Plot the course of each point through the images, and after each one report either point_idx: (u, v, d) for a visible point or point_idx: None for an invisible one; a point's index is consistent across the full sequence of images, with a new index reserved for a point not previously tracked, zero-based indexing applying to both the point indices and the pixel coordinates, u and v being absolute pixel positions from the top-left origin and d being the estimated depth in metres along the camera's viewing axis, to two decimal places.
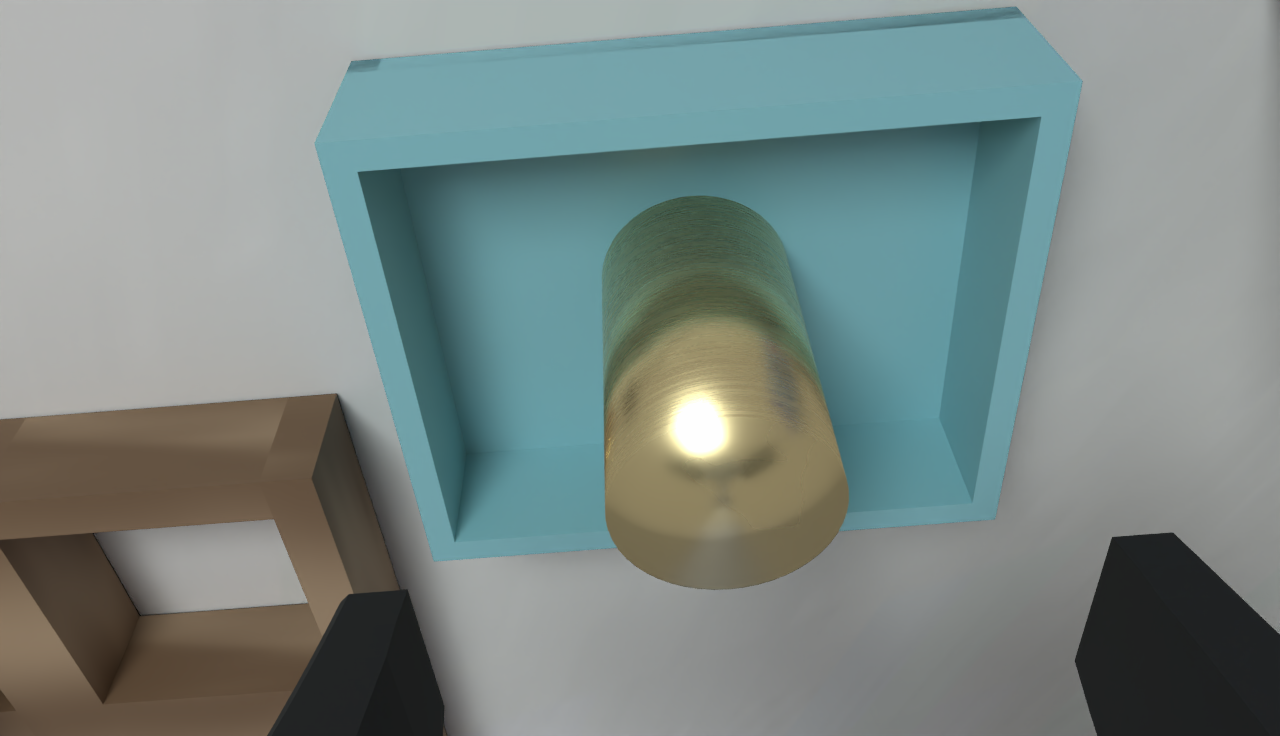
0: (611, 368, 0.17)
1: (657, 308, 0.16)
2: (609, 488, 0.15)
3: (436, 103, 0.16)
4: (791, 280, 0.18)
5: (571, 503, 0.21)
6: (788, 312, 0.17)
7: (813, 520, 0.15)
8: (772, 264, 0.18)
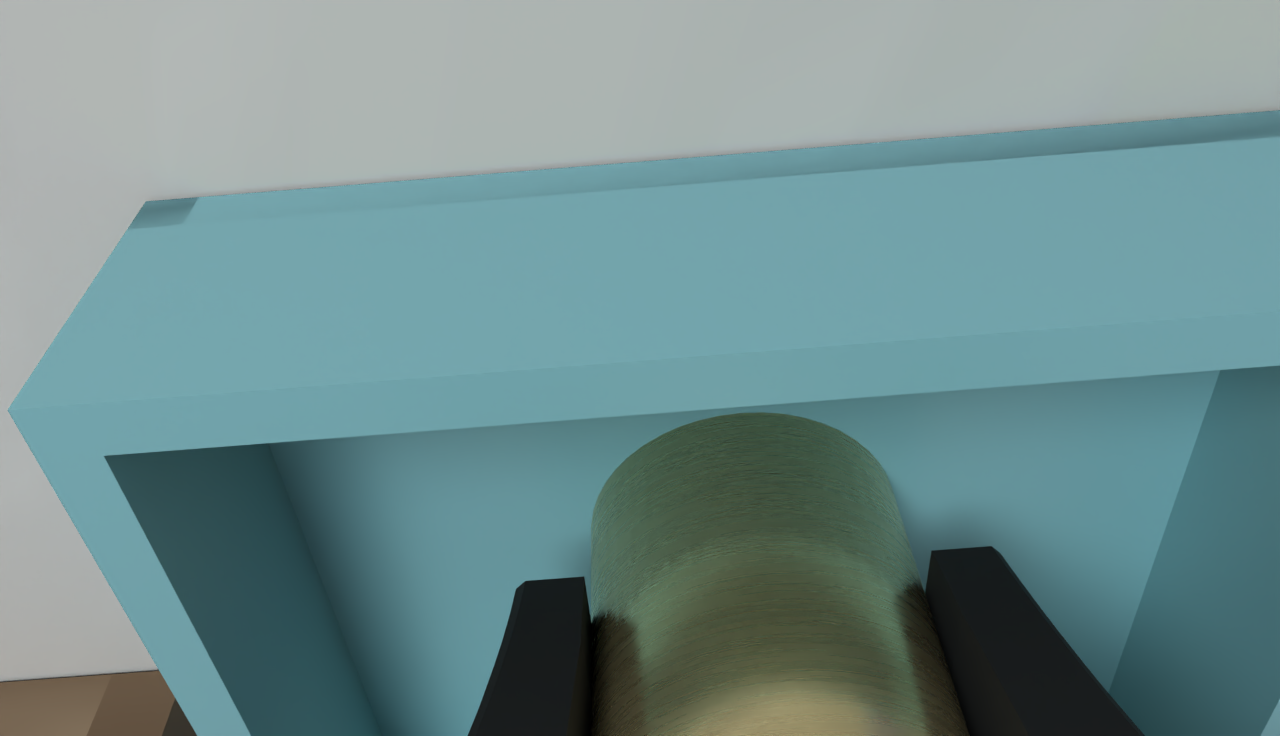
0: None
1: (690, 680, 0.09)
2: None
3: (270, 308, 0.08)
4: (914, 565, 0.11)
5: None
6: (929, 669, 0.09)
7: None
8: (888, 552, 0.10)
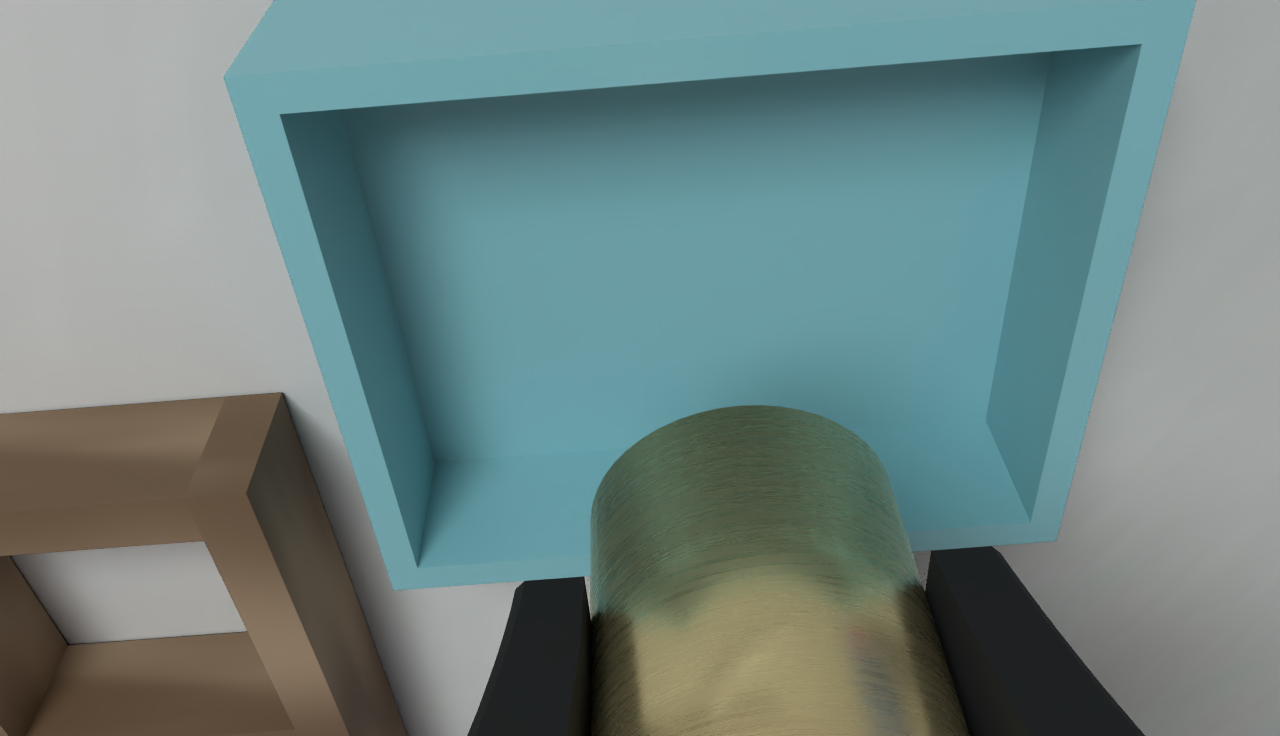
0: None
1: (689, 669, 0.09)
2: None
3: (381, 30, 0.13)
4: (912, 557, 0.11)
5: (556, 521, 0.18)
6: (926, 659, 0.09)
7: None
8: (886, 543, 0.10)
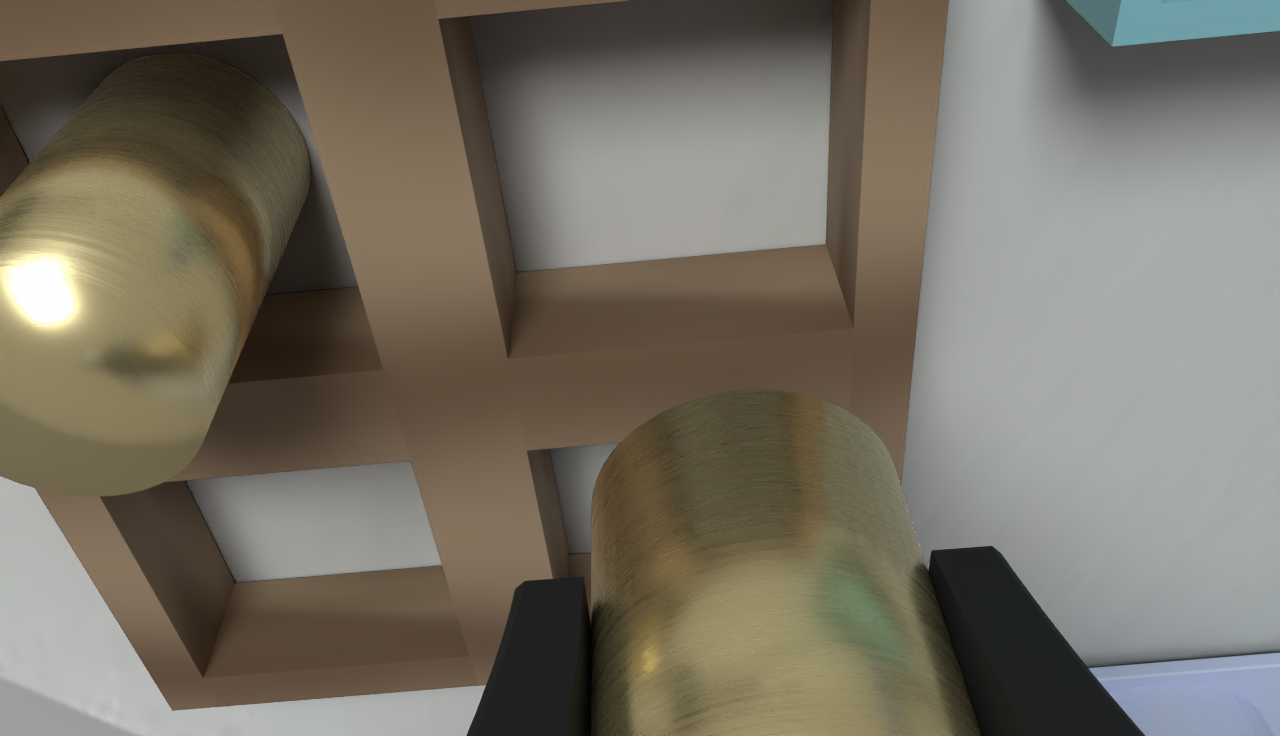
0: None
1: (710, 648, 0.09)
2: None
3: None
4: (922, 553, 0.11)
5: None
6: (943, 653, 0.09)
7: None
8: (903, 536, 0.10)
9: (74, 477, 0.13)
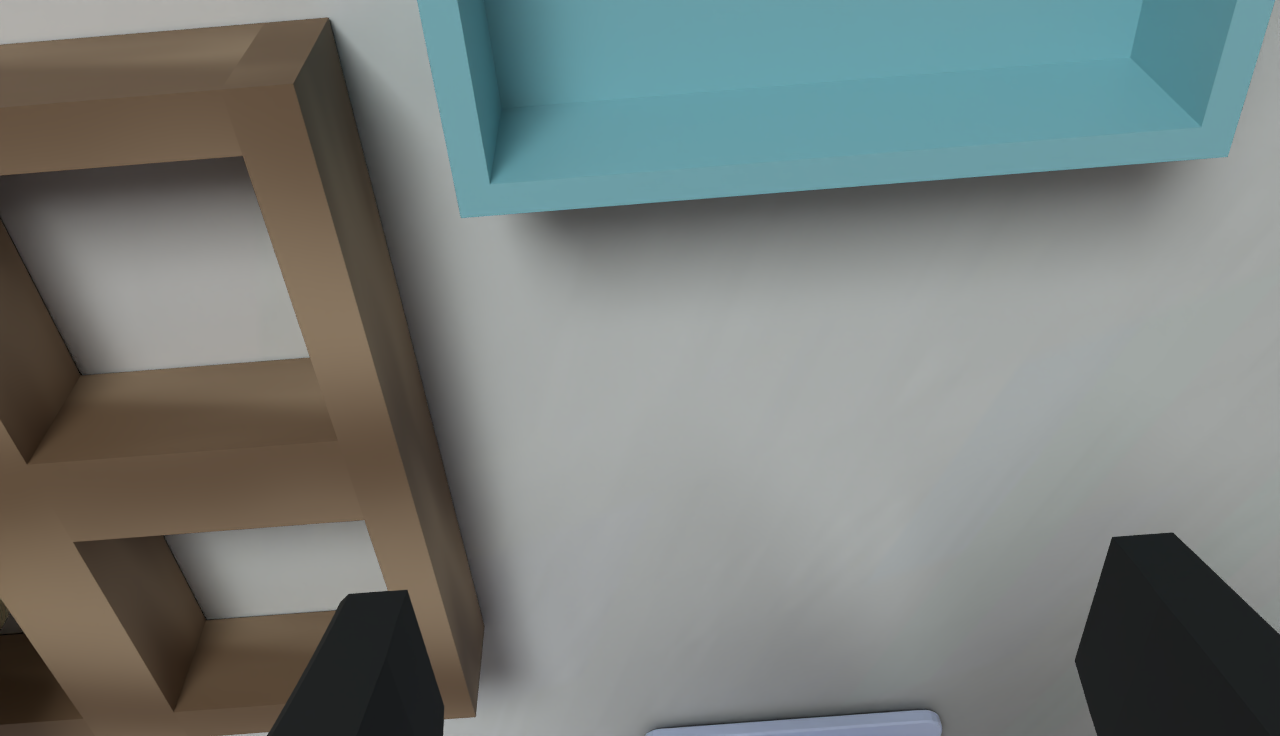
0: None
1: None
2: None
3: None
4: None
5: (646, 145, 0.16)
6: None
7: None
8: None
9: None
